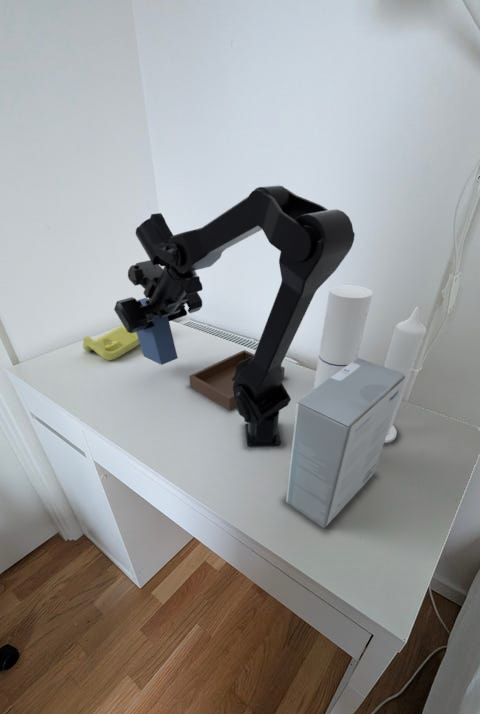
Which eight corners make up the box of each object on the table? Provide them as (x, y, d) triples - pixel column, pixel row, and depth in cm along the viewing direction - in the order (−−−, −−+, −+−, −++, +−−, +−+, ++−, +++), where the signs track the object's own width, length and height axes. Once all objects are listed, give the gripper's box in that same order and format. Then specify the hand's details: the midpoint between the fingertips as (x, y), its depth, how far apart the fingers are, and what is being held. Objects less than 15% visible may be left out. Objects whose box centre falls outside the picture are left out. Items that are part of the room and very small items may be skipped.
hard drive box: (335, 453, 62) (358, 356, 50) (374, 474, 58) (410, 374, 46) (283, 502, 54) (295, 399, 41) (324, 531, 50) (352, 426, 37)
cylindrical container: (305, 403, 75) (321, 287, 59) (333, 397, 77) (357, 283, 61) (320, 422, 70) (343, 300, 54) (350, 415, 71) (381, 295, 56)
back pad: (177, 358, 80) (164, 302, 73) (161, 365, 78) (146, 308, 71) (159, 350, 86) (145, 297, 79) (143, 356, 84) (127, 303, 77)
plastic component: (109, 356, 88) (81, 332, 89) (108, 374, 94) (82, 352, 94) (161, 325, 100) (135, 304, 100) (157, 342, 106) (133, 323, 106)
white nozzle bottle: (379, 417, 71) (418, 296, 55) (403, 438, 66) (454, 311, 50) (351, 425, 69) (383, 302, 53) (373, 447, 64) (417, 318, 48)
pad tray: (244, 360, 91) (244, 349, 89) (283, 378, 83) (284, 367, 81) (190, 387, 81) (188, 375, 79) (229, 410, 73) (229, 398, 71)
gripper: (189, 241, 70) (165, 285, 83) (106, 257, 59) (94, 305, 72) (216, 288, 70) (188, 325, 83) (139, 312, 60) (121, 350, 73)
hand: (150, 325), depth 78 cm, fingers closed on back pad, 5 cm apart
